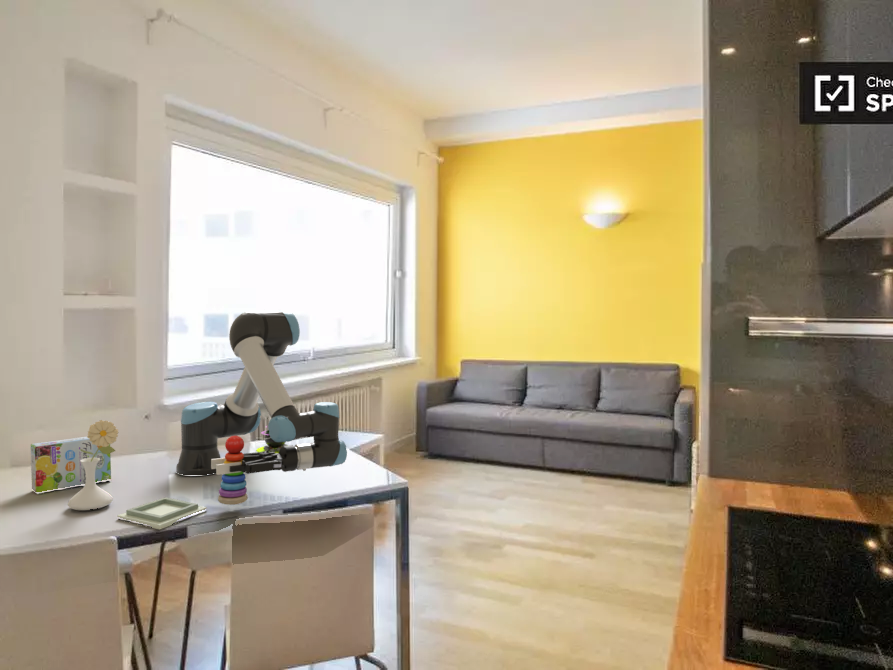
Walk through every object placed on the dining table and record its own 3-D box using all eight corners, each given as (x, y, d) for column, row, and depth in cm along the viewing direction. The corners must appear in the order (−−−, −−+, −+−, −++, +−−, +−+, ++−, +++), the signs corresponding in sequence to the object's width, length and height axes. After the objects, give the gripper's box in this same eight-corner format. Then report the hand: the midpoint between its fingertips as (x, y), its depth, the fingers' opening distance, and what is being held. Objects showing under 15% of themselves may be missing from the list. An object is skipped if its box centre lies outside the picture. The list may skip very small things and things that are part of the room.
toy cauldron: (257, 446, 263) (257, 419, 263) (295, 445, 266) (295, 418, 266) (254, 455, 249) (254, 426, 248) (294, 453, 252) (294, 425, 251)
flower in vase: (65, 516, 177) (63, 425, 176) (70, 503, 188) (68, 418, 186) (118, 510, 183) (117, 422, 181) (120, 498, 193) (119, 415, 192)
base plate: (117, 519, 175) (117, 510, 175) (166, 503, 190) (165, 495, 190) (159, 529, 168) (159, 520, 168) (206, 511, 183) (206, 503, 183)
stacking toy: (238, 507, 179) (239, 440, 177) (212, 504, 181) (212, 438, 179) (252, 498, 187) (253, 434, 185) (227, 495, 188) (227, 432, 187)
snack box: (105, 478, 214) (105, 433, 213) (111, 482, 210) (110, 436, 209) (31, 491, 199) (30, 442, 198) (35, 495, 195) (34, 446, 194)
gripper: (305, 478, 185) (221, 489, 173) (285, 462, 201) (207, 471, 189) (305, 452, 184) (221, 461, 172) (285, 438, 200) (207, 446, 188)
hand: (214, 466), depth 180 cm, fingers closed on stacking toy, 6 cm apart
